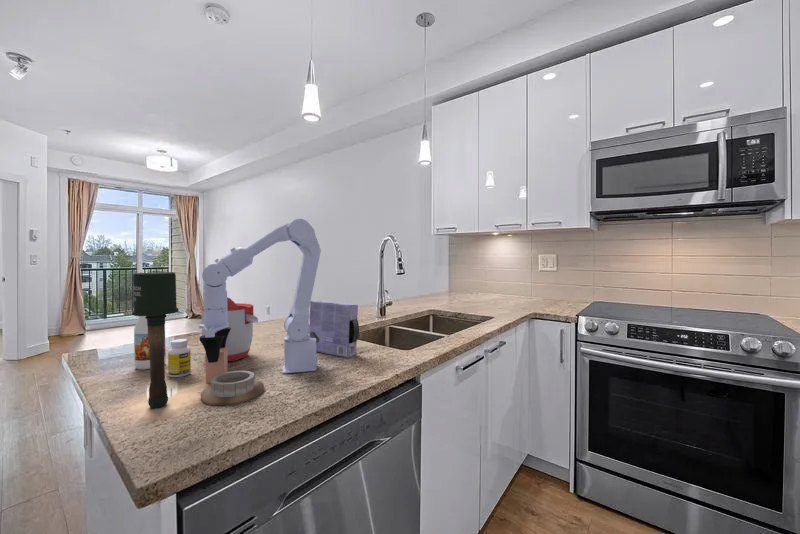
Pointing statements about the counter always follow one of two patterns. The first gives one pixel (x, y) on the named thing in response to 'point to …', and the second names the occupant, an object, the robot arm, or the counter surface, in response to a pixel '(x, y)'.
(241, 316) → the citrus juicer
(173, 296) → the potato masher grenade
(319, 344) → the cake pan box
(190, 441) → the counter surface
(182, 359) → the supplement bottle
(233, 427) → the counter surface
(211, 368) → the peg
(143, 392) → the counter surface
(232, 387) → the collar
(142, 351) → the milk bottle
